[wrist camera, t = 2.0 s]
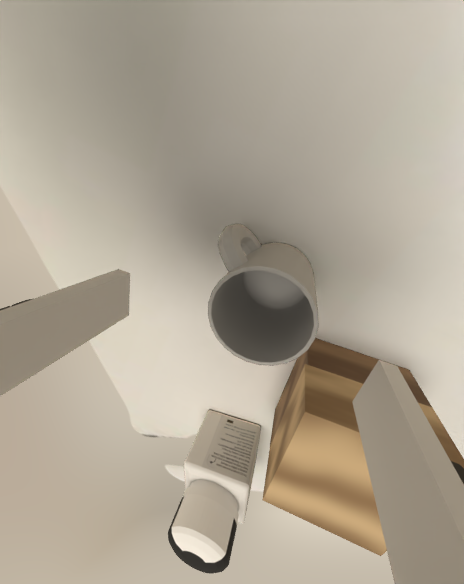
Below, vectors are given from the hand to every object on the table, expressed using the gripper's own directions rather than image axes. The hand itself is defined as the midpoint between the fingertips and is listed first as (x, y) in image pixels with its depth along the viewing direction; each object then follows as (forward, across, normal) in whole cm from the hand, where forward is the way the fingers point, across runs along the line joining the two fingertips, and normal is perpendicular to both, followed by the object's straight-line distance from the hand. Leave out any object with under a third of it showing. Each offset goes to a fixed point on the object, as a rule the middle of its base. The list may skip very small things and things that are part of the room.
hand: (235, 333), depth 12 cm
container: (+13, +2, -26) cm, 29 cm away
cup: (+12, 0, 0) cm, 12 cm away
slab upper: (+8, +11, -12) cm, 17 cm away
